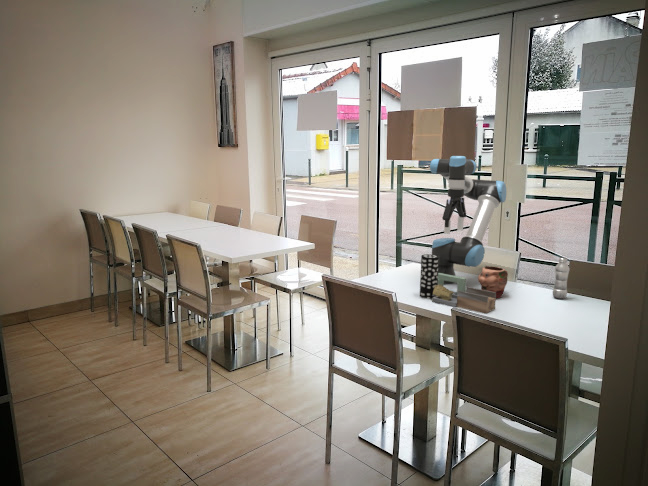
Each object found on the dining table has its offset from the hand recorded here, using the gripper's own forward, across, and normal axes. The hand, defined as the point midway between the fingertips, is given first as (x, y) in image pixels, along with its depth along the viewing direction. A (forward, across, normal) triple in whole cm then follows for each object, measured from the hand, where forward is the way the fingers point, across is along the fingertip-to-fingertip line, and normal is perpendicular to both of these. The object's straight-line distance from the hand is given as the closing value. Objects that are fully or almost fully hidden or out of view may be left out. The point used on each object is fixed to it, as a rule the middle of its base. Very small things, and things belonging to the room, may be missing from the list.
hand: (453, 232), depth 252 cm
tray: (+31, +14, +7) cm, 34 cm away
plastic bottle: (+31, -27, +44) cm, 60 cm away
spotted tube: (+31, +13, -5) cm, 34 cm away
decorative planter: (+31, -10, +18) cm, 37 cm away
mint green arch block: (+31, 0, 0) cm, 31 cm away
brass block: (+26, +14, +6) cm, 30 cm away
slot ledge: (+31, +14, +20) cm, 39 cm away
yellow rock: (+27, +14, +3) cm, 31 cm away
